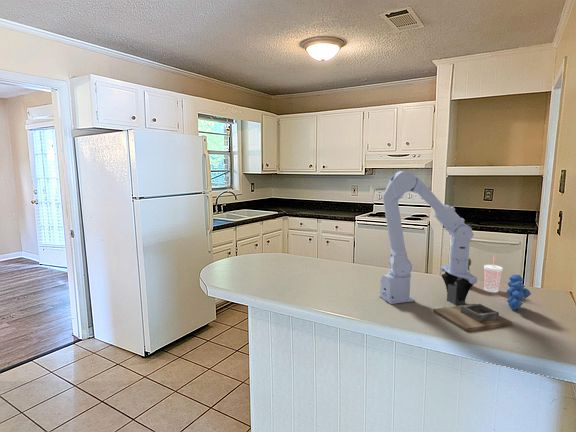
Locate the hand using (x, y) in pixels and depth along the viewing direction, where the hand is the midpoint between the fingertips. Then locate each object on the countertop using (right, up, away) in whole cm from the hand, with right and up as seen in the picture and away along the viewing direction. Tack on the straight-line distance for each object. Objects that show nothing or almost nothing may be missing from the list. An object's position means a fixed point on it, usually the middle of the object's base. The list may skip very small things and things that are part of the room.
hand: (456, 297), depth 120 cm
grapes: (+17, -3, -6) cm, 18 cm away
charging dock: (-1, -3, -13) cm, 13 cm away
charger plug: (0, -2, 0) cm, 2 cm away
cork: (+11, +1, +18) cm, 21 cm away
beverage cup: (+19, 0, +12) cm, 22 cm away
